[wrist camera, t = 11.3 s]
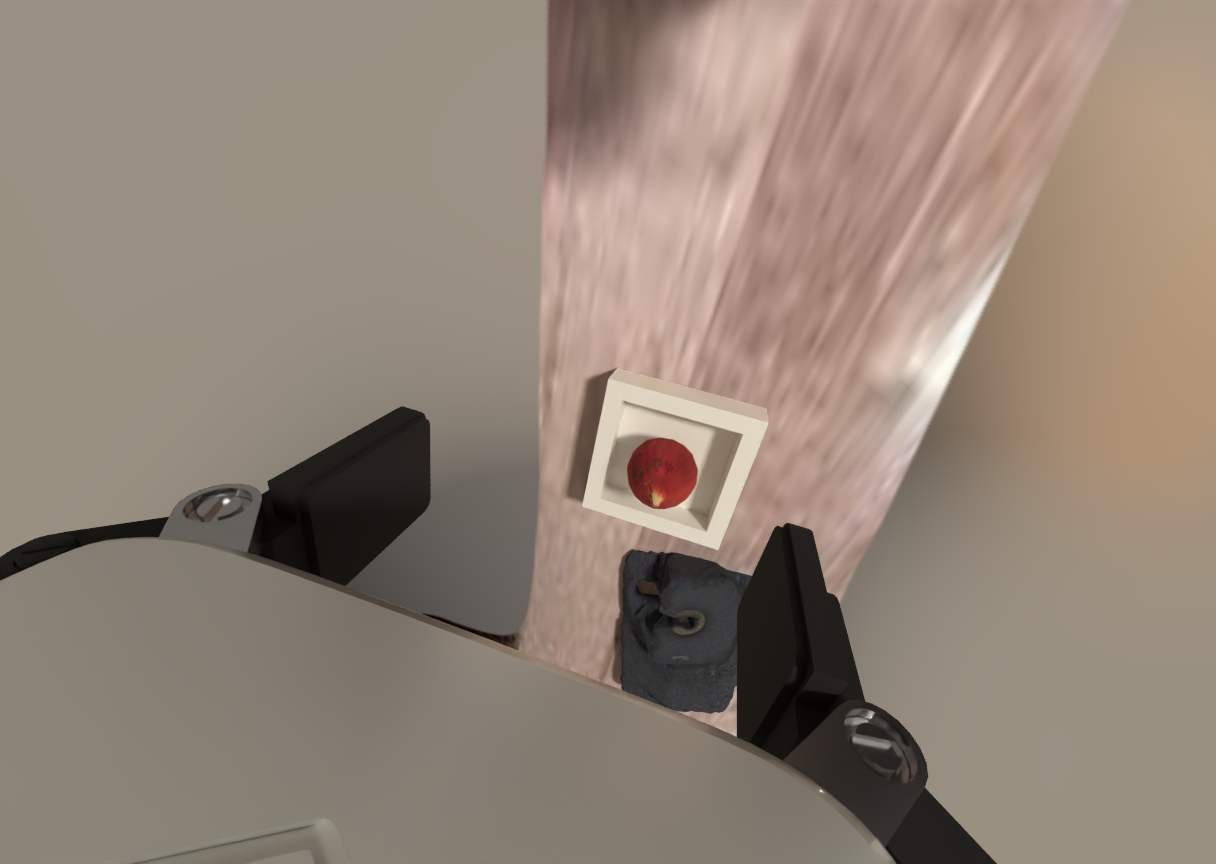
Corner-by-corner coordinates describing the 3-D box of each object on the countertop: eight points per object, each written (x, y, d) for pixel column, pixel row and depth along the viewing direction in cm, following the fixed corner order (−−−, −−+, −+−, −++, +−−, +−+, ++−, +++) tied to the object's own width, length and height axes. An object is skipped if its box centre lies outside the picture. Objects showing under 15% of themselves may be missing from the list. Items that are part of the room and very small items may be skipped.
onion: (623, 448, 41) (601, 494, 34) (668, 411, 39) (654, 451, 32) (666, 491, 42) (653, 544, 35) (713, 457, 40) (709, 507, 32)
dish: (617, 367, 39) (608, 378, 36) (766, 408, 37) (768, 422, 34) (591, 489, 45) (582, 506, 42) (719, 529, 43) (718, 550, 40)
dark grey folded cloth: (606, 673, 56) (596, 709, 52) (630, 535, 47) (620, 565, 42) (729, 712, 54) (729, 753, 49) (781, 574, 44) (786, 610, 40)
